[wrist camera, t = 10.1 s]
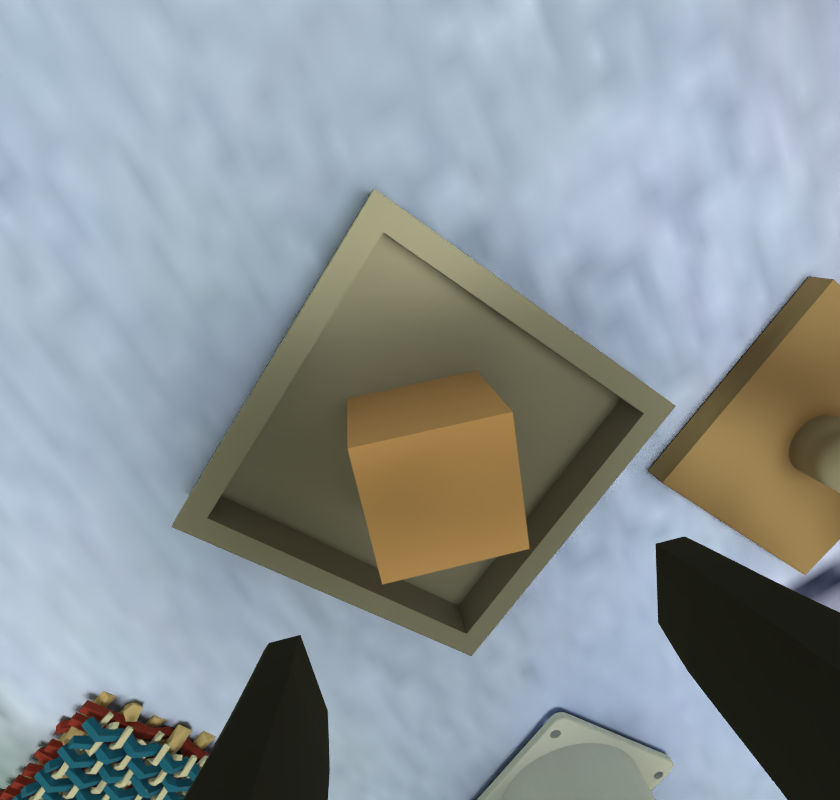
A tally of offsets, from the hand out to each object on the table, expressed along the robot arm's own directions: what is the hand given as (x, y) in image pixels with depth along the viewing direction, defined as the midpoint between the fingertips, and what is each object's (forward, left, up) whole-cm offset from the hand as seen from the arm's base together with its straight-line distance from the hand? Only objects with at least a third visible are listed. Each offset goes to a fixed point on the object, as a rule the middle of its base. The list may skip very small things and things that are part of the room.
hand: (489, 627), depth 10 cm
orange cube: (0, 0, -9) cm, 9 cm away
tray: (0, 0, -9) cm, 9 cm away
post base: (+8, -13, -9) cm, 18 cm away
